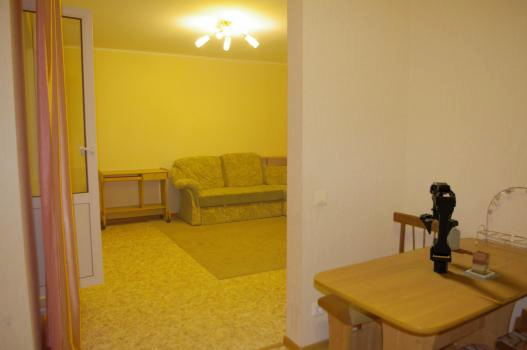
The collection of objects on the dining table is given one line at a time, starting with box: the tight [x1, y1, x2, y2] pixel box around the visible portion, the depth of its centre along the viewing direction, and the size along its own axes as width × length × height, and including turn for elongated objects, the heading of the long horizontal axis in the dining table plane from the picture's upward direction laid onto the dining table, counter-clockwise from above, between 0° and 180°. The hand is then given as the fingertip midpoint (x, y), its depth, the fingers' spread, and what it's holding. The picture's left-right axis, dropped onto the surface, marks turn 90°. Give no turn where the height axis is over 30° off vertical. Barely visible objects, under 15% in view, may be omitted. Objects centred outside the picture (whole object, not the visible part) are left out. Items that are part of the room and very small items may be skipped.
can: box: [447, 226, 462, 251], centre depth 216 cm, size 8×8×12 cm
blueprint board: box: [460, 267, 501, 282], centre depth 179 cm, size 12×12×2 cm
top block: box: [471, 250, 491, 266], centre depth 178 cm, size 5×5×5 cm
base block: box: [471, 262, 490, 276], centre depth 178 cm, size 5×5×5 cm
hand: (437, 236), depth 199 cm, fingers open, 9 cm apart
